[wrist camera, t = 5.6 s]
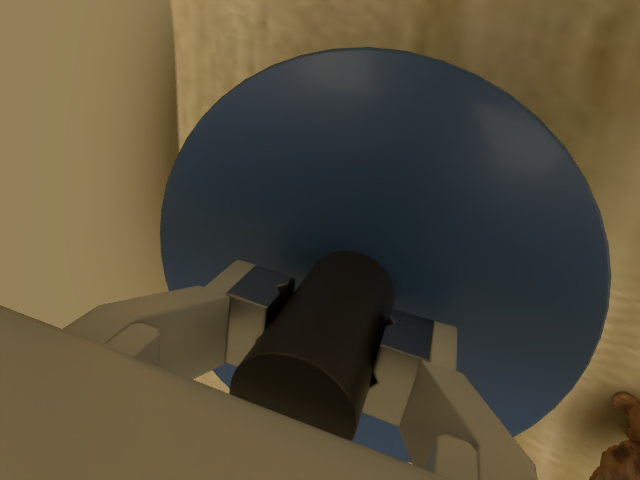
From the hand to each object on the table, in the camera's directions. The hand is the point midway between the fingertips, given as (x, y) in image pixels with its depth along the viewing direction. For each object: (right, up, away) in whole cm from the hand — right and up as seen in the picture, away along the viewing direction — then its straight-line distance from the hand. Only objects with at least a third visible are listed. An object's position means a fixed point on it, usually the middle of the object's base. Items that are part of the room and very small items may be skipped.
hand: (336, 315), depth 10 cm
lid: (+1, +1, +2) cm, 2 cm away
